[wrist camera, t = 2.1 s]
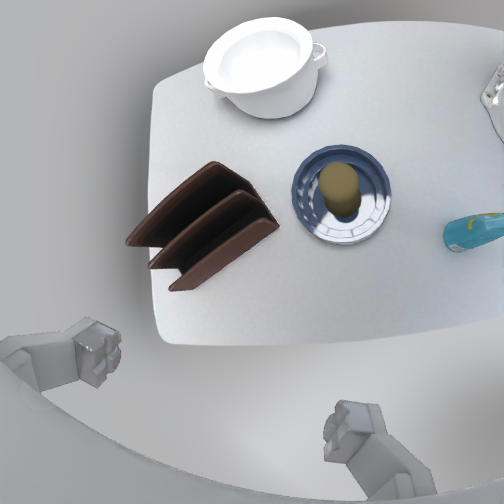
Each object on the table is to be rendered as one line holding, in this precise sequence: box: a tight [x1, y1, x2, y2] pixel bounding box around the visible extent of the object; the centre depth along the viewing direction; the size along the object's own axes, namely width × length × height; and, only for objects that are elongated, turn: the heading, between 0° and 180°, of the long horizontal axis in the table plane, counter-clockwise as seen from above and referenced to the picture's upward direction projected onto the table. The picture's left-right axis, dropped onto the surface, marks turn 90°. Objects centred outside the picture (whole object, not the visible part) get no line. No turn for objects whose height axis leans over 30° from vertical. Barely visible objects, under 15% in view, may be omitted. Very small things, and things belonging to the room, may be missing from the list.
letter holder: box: [125, 161, 279, 291], centre depth 44 cm, size 10×20×14 cm, turn 123°
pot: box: [203, 17, 328, 119], centre depth 42 cm, size 22×17×12 cm
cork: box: [318, 162, 362, 218], centre depth 37 cm, size 6×6×11 cm
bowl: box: [291, 144, 391, 245], centre depth 40 cm, size 14×14×5 cm
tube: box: [444, 213, 504, 252], centre depth 27 cm, size 7×5×19 cm, turn 102°
